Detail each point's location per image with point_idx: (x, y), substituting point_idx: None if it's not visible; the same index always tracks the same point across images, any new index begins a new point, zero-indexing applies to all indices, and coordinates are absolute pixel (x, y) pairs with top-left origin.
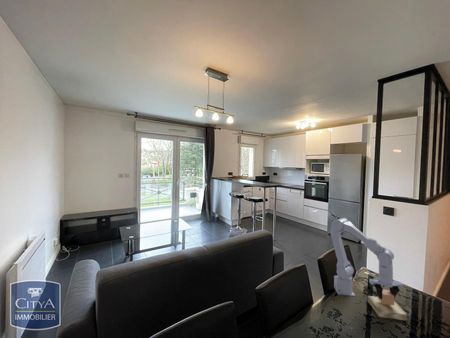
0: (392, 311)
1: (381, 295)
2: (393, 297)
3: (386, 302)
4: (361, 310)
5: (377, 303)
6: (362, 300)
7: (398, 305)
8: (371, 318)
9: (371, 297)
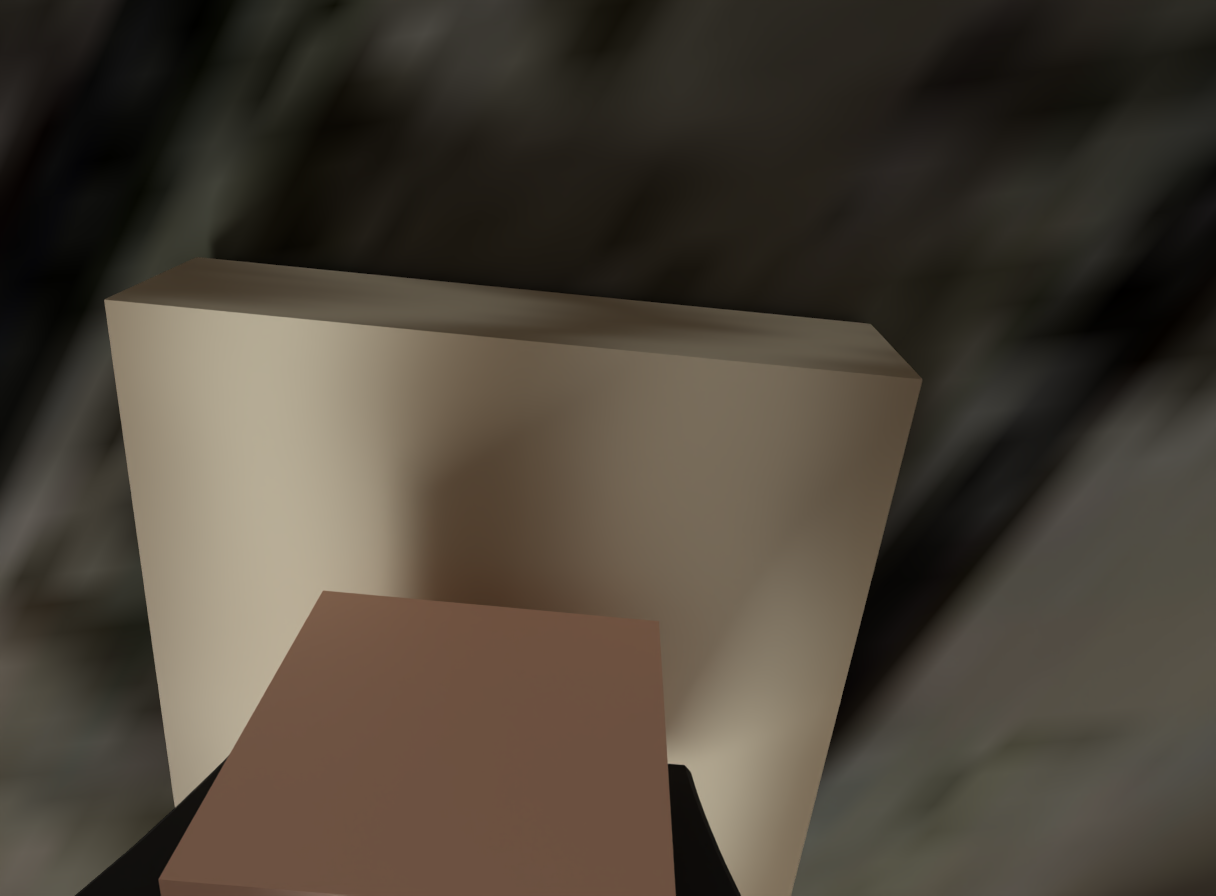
0: (498, 391)
1: (685, 885)
2: (232, 805)
3: (548, 655)
4: (1159, 510)
5: (727, 685)
6: (861, 827)
7: (163, 664)
8: (1128, 237)
9: None
